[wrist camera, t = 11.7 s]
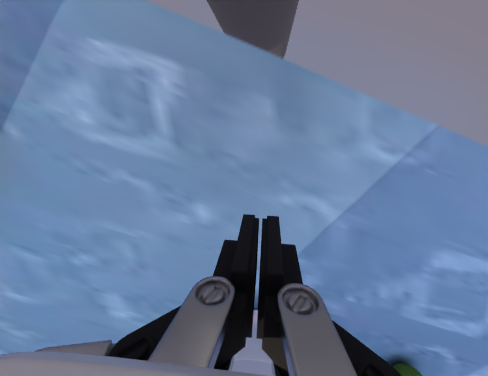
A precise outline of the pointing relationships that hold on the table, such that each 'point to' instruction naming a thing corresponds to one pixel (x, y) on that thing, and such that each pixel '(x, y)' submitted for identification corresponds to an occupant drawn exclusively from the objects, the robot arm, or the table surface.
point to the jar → (253, 355)
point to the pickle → (406, 370)
